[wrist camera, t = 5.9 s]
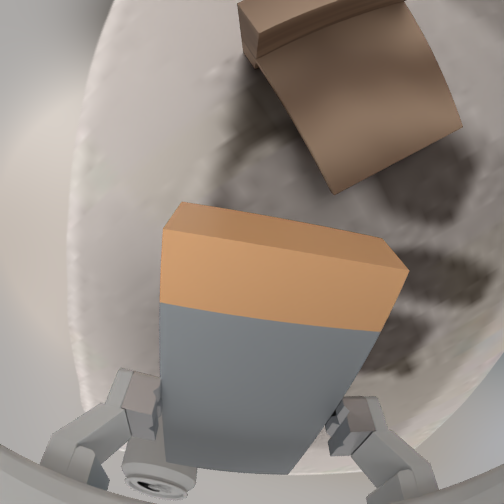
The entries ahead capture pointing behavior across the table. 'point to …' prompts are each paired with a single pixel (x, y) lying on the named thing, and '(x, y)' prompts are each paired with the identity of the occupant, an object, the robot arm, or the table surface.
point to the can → (156, 469)
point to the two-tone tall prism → (263, 332)
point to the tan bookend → (350, 80)
